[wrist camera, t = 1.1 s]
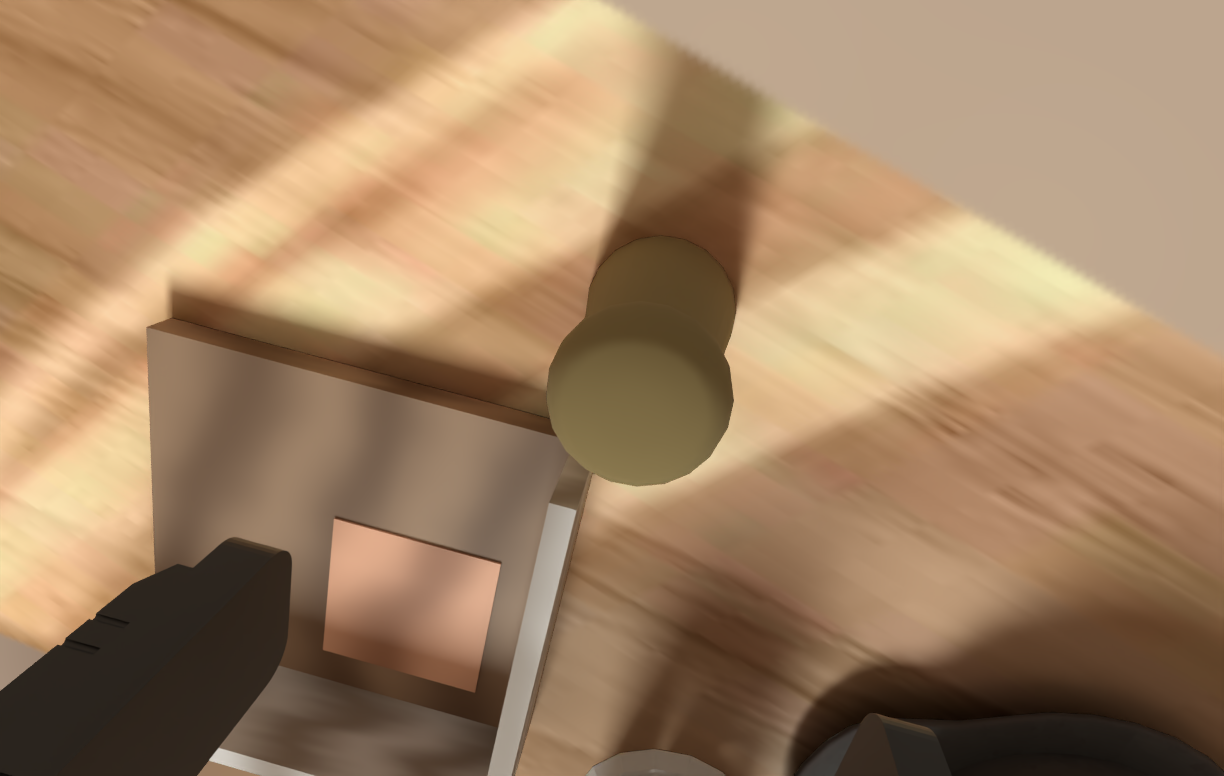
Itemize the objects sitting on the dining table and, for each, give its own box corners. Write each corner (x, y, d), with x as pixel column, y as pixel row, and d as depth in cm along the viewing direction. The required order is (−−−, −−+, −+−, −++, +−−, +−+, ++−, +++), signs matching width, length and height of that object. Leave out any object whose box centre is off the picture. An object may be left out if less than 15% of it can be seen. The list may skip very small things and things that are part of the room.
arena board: (602, 432, 30) (576, 510, 24) (529, 725, 37) (494, 843, 31) (171, 318, 31) (41, 365, 25) (178, 626, 38) (76, 722, 32)
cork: (565, 262, 28) (483, 343, 17) (711, 214, 26) (714, 272, 16) (614, 396, 29) (565, 541, 19) (753, 358, 28) (779, 493, 18)
